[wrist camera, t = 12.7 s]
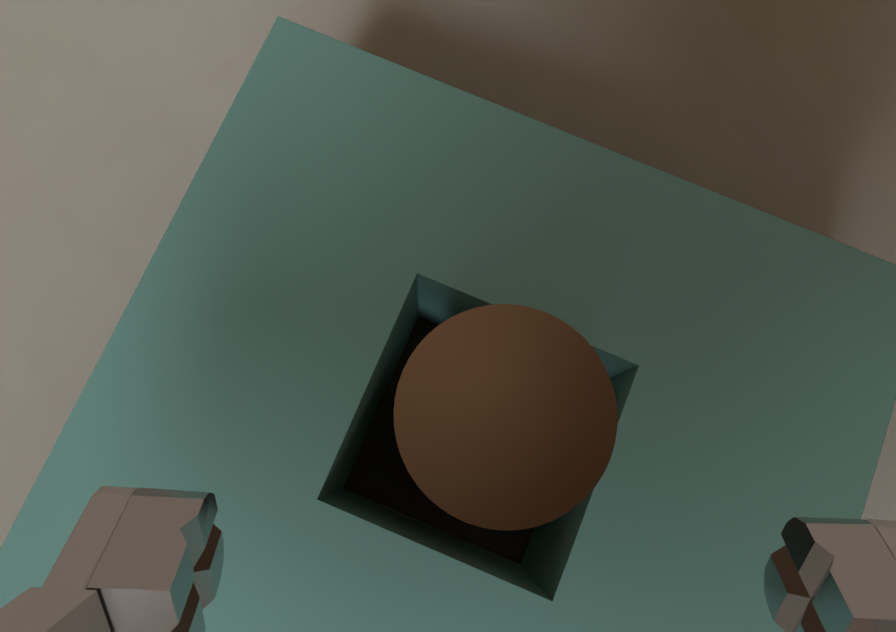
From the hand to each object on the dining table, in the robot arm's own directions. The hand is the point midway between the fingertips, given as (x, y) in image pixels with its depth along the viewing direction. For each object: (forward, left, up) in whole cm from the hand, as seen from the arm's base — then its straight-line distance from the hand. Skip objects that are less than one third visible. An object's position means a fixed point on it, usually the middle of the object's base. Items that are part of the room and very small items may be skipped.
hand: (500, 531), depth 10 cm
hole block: (0, +2, -10) cm, 10 cm away
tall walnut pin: (-1, +2, -10) cm, 10 cm away
